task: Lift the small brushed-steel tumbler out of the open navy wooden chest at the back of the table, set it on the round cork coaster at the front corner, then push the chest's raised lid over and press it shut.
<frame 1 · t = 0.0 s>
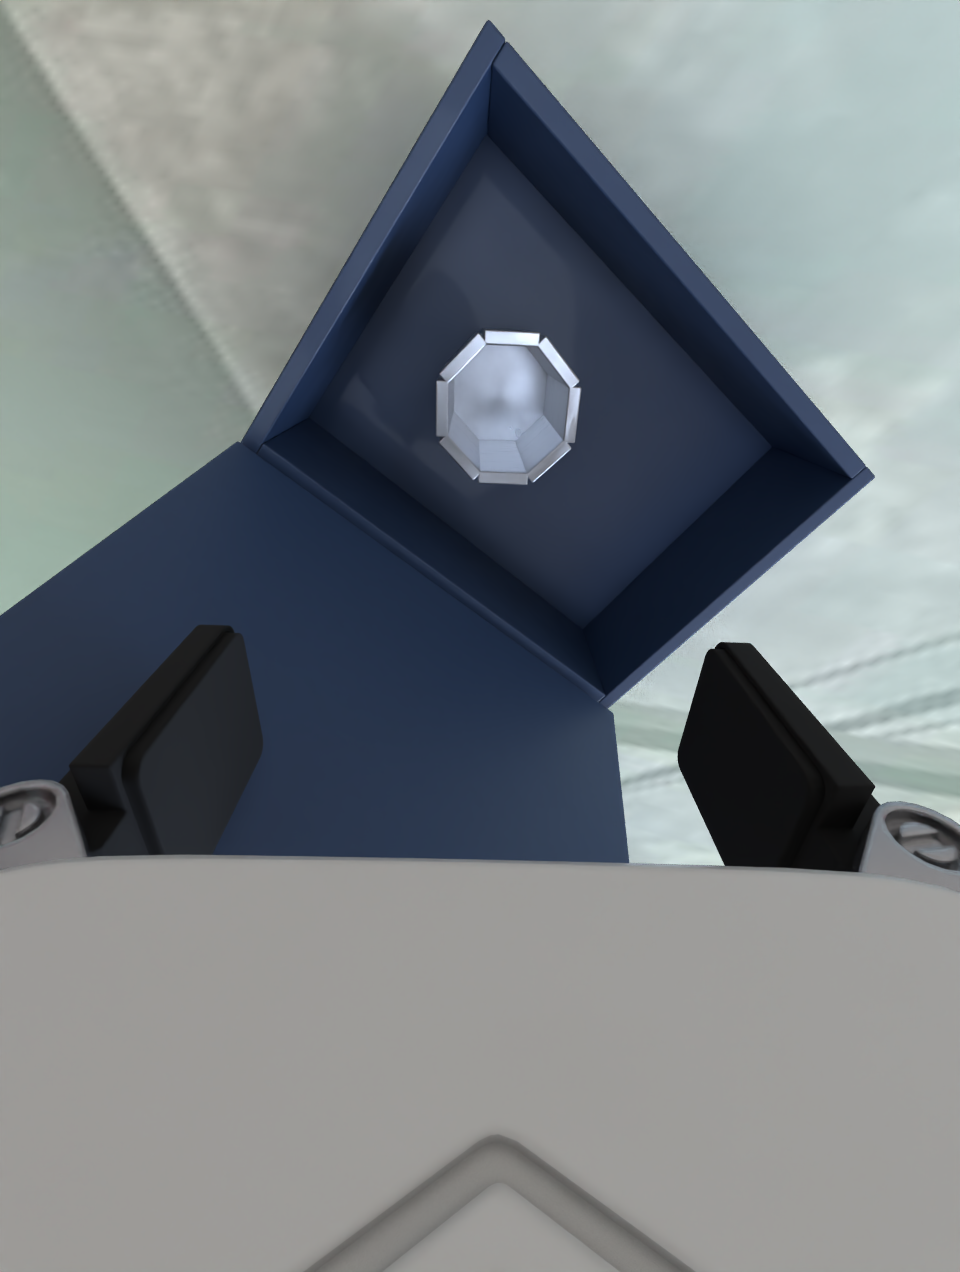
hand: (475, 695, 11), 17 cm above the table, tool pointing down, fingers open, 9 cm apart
lid: (374, 763, 17), point 13 cm above the table, hinge at 101.0°, touching gripper
tumbler: (499, 391, 23), point 1 cm above the table, touching chest
chest: (542, 429, 25), on the table
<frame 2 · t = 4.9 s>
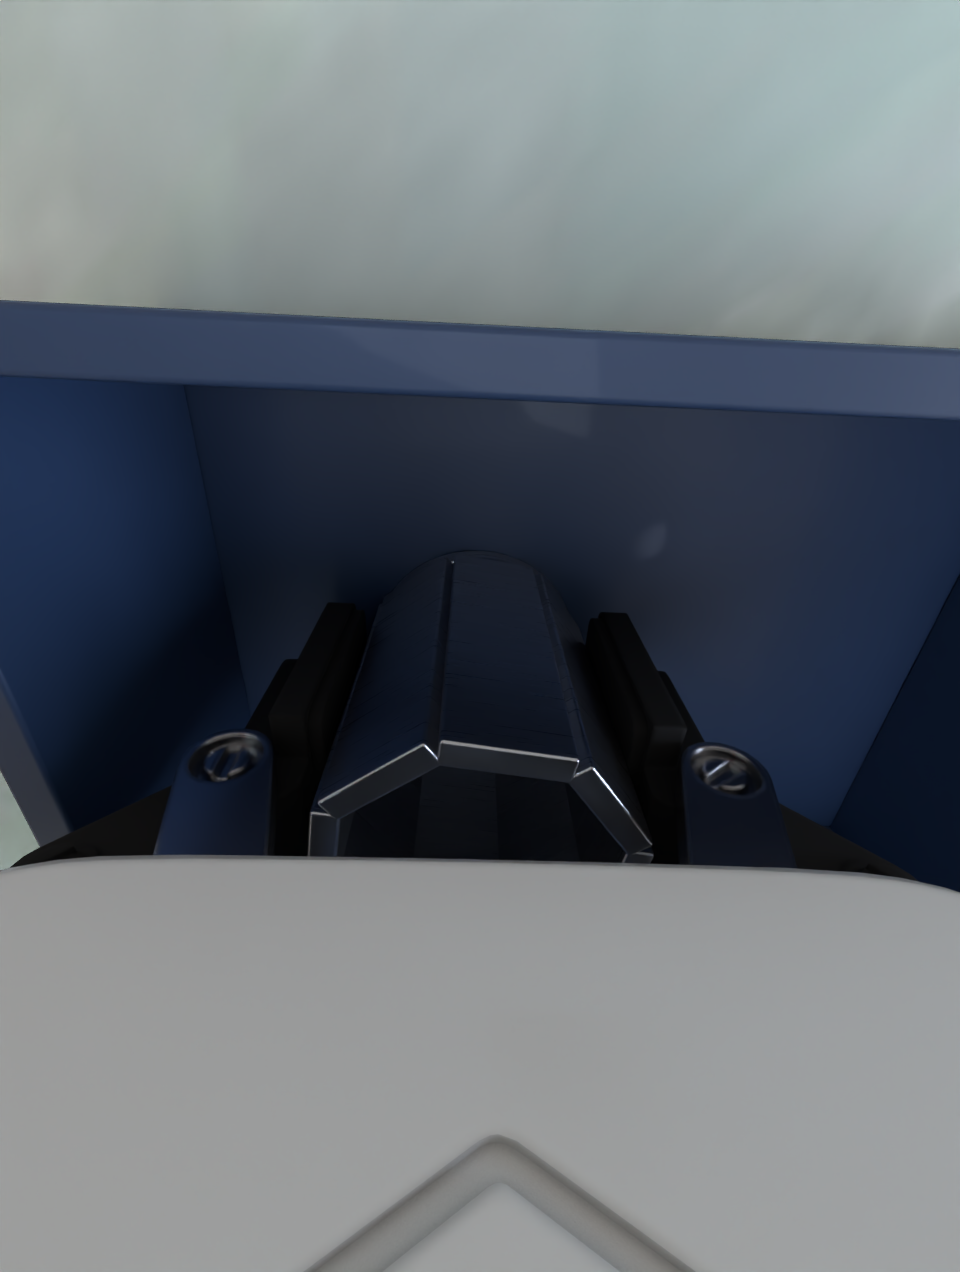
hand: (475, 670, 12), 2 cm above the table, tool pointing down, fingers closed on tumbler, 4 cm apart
tumbler: (475, 640, 13), point 1 cm above the table, touching chest, gripper
chest: (578, 631, 14), on the table
when the fingers open (2 cm above the table, at t = 14.4 s): tumbler stays where it is, resting on coaster.
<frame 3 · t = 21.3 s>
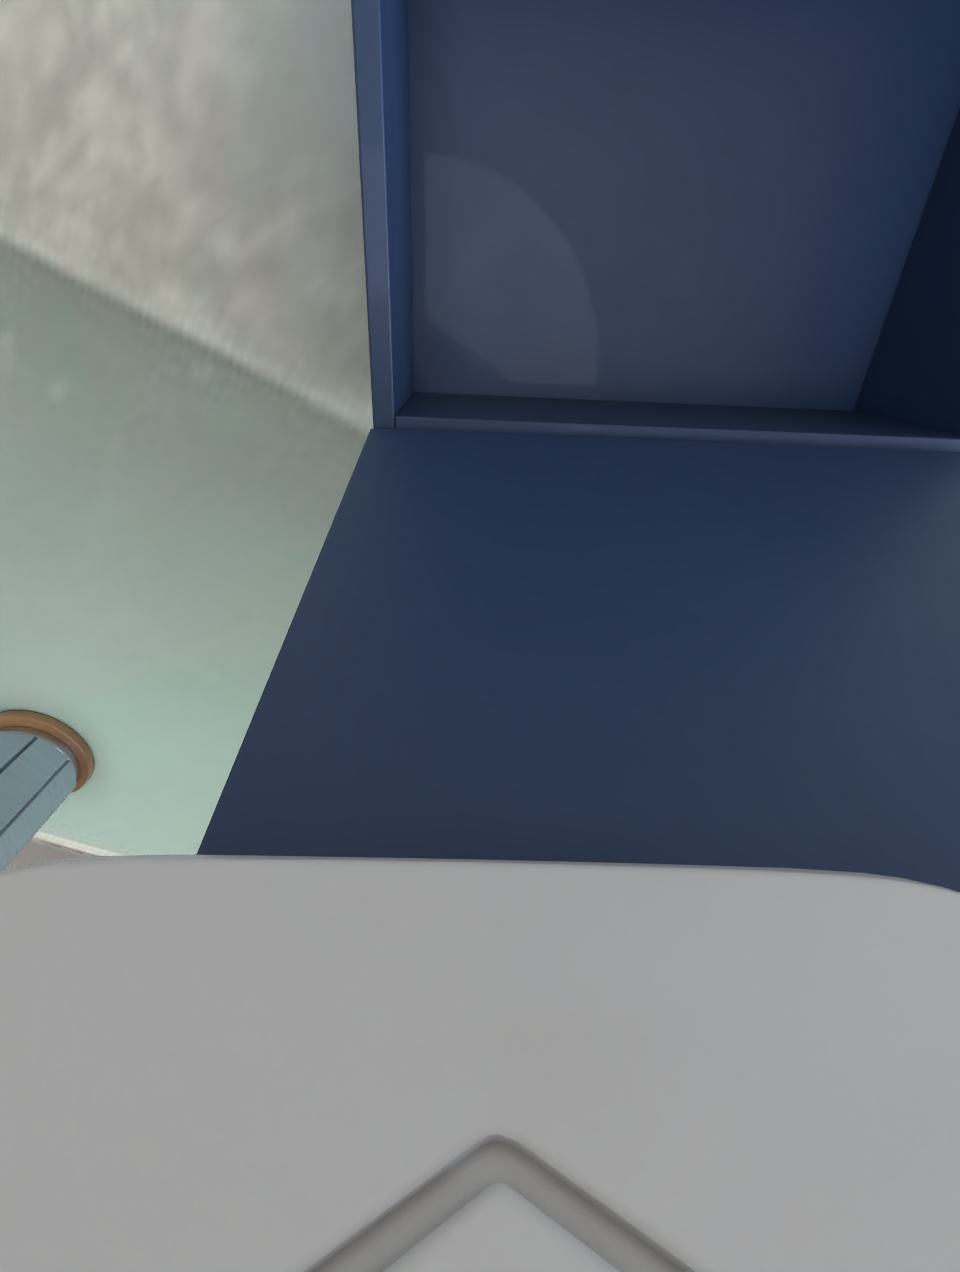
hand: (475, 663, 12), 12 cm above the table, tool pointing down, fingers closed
lid: (766, 670, 11), point 13 cm above the table, hinge at 100.7°, touching gripper
coaster: (38, 751, 29), on the table
tumbler: (34, 759, 29), resting on coaster
chest: (664, 203, 18), on the table
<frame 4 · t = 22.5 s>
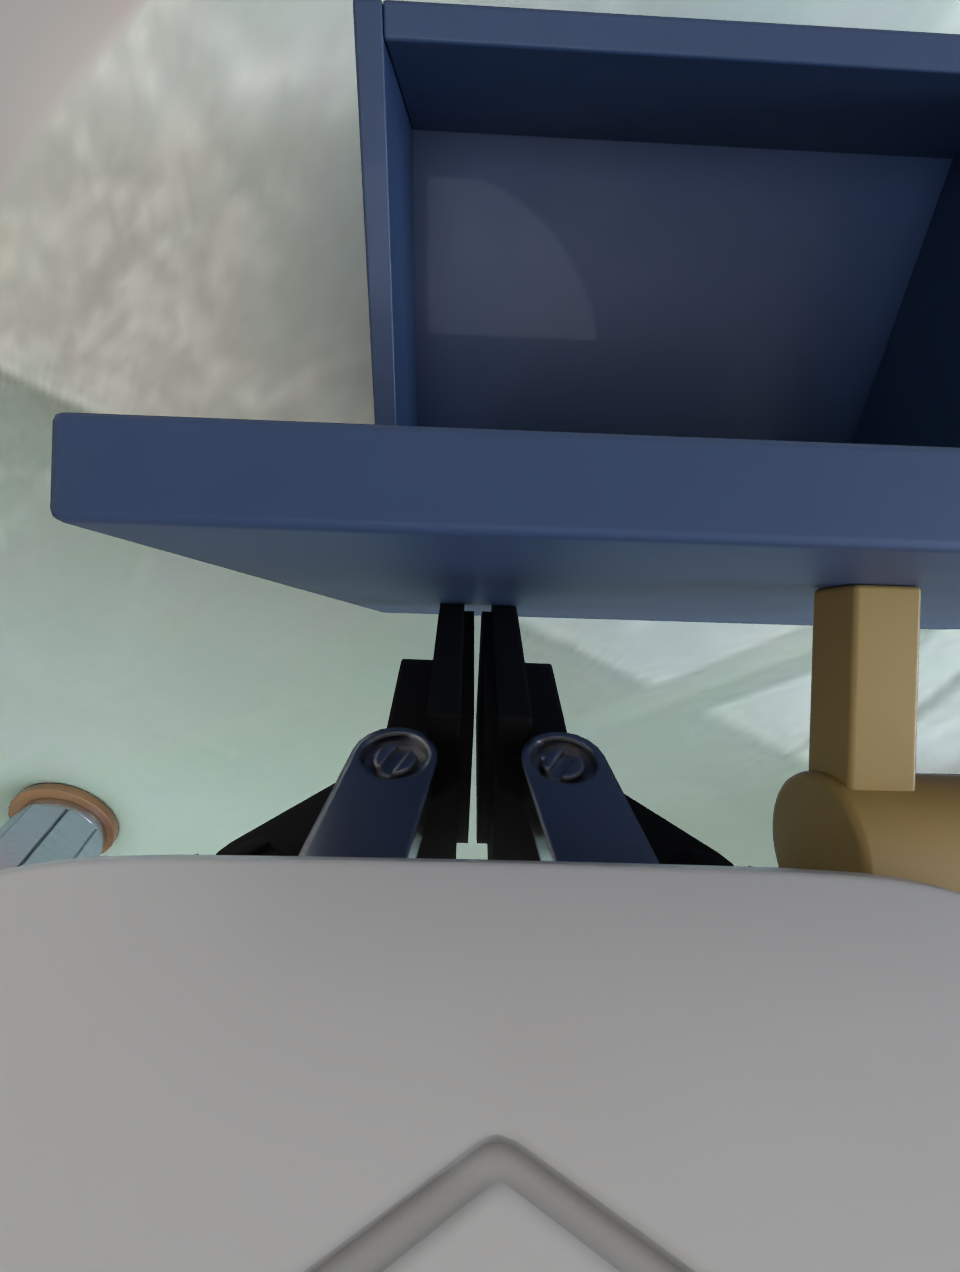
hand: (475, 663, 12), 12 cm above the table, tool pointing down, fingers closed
lid: (791, 687, 10), point 14 cm above the table, hinge at 60.4°, touching gripper
coaster: (67, 818, 32), on the table
tumbler: (63, 827, 31), resting on coaster
chest: (644, 363, 20), on the table
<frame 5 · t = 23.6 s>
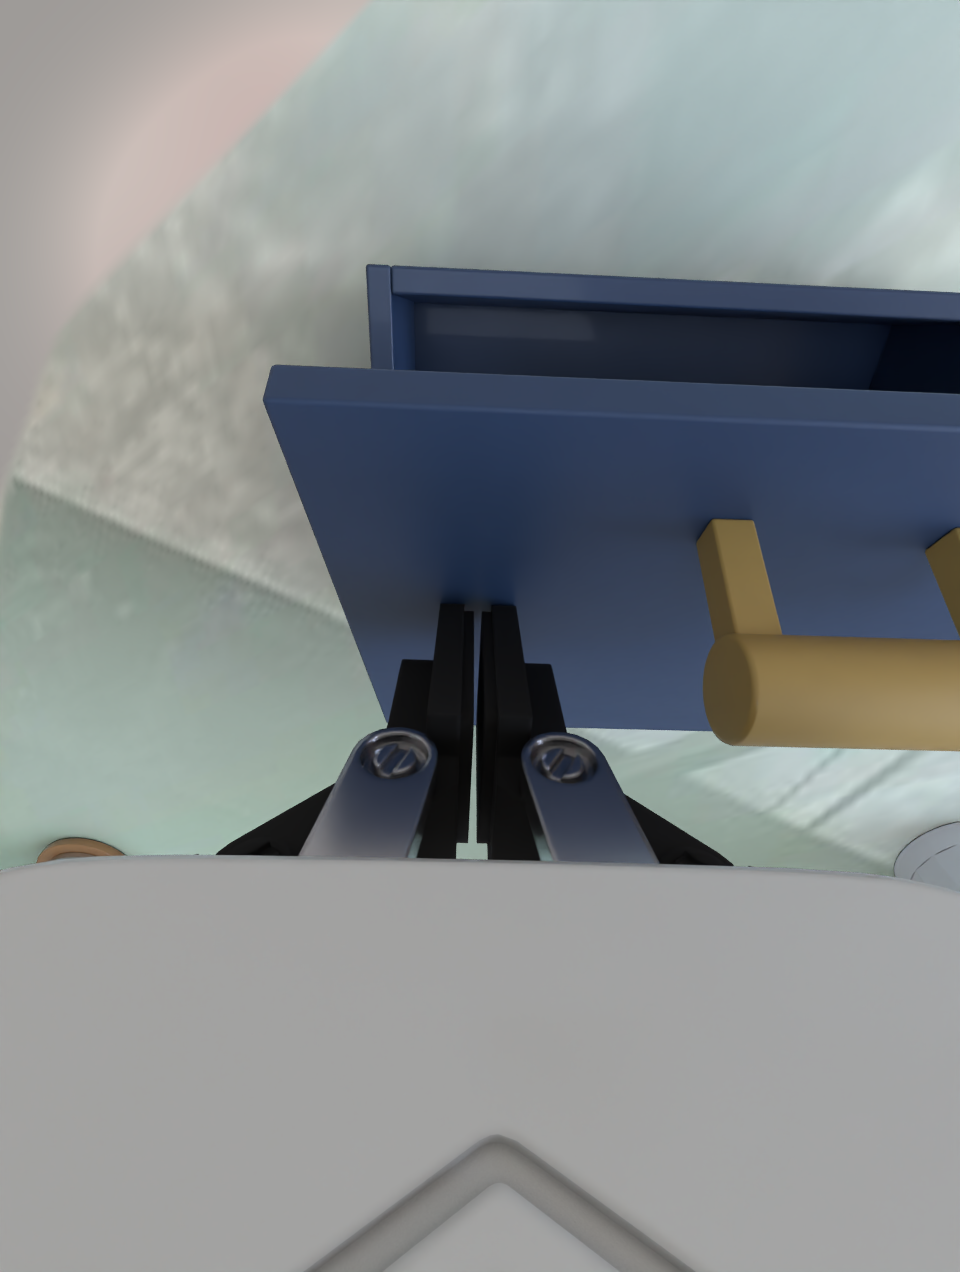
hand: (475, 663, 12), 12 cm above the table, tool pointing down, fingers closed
lid: (734, 706, 13), point 12 cm above the table, hinge at 34.3°
coaster: (90, 868, 34), on the table
cup: (945, 854, 34), on the table
chest: (622, 484, 22), on the table
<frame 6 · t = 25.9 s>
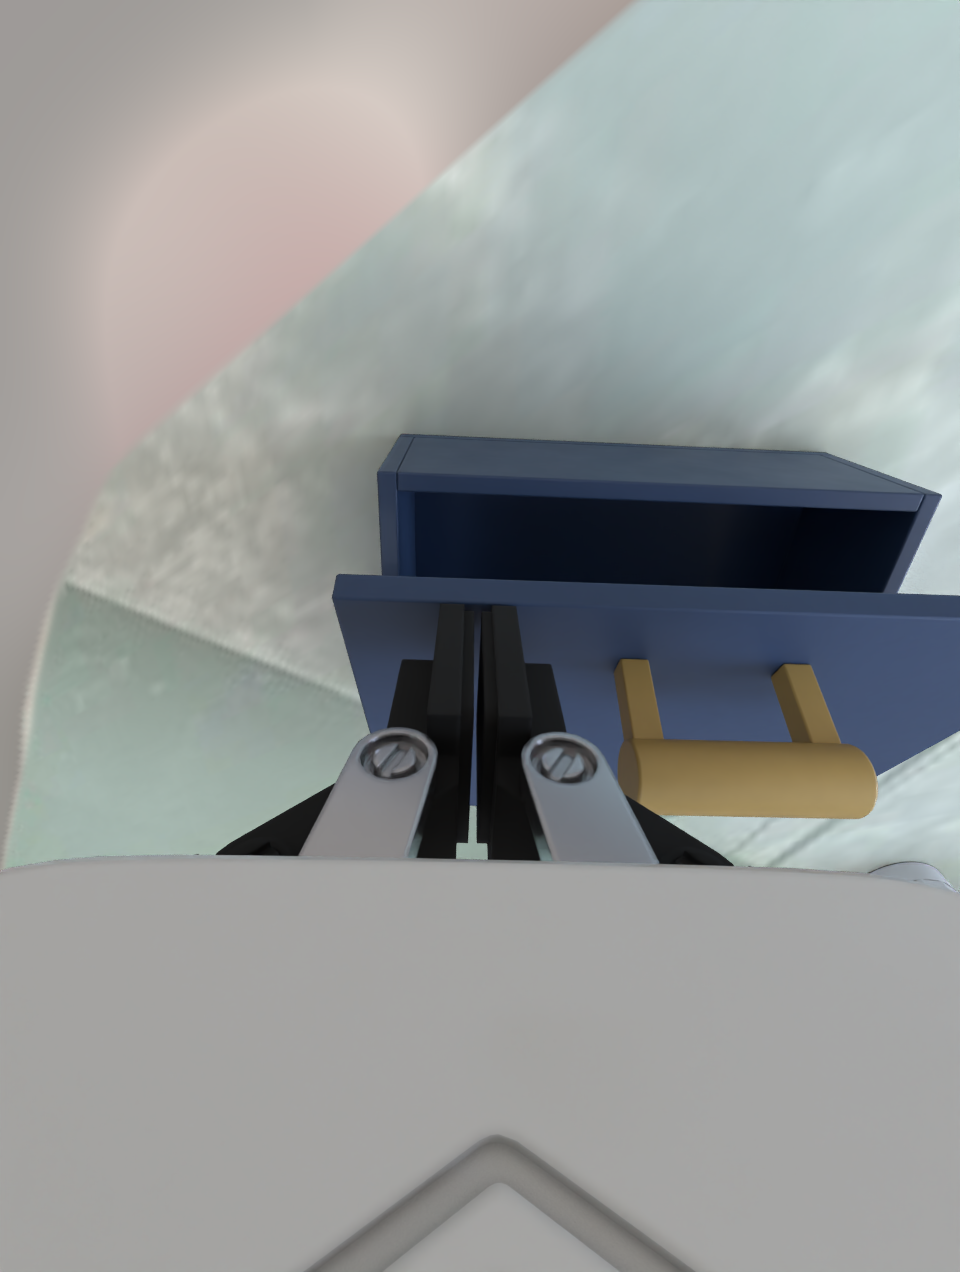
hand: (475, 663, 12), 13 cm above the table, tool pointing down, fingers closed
lid: (662, 787, 16), point 12 cm above the table, hinge at 26.0°, touching gripper
cup: (891, 890, 38), on the table
chest: (593, 588, 26), on the table
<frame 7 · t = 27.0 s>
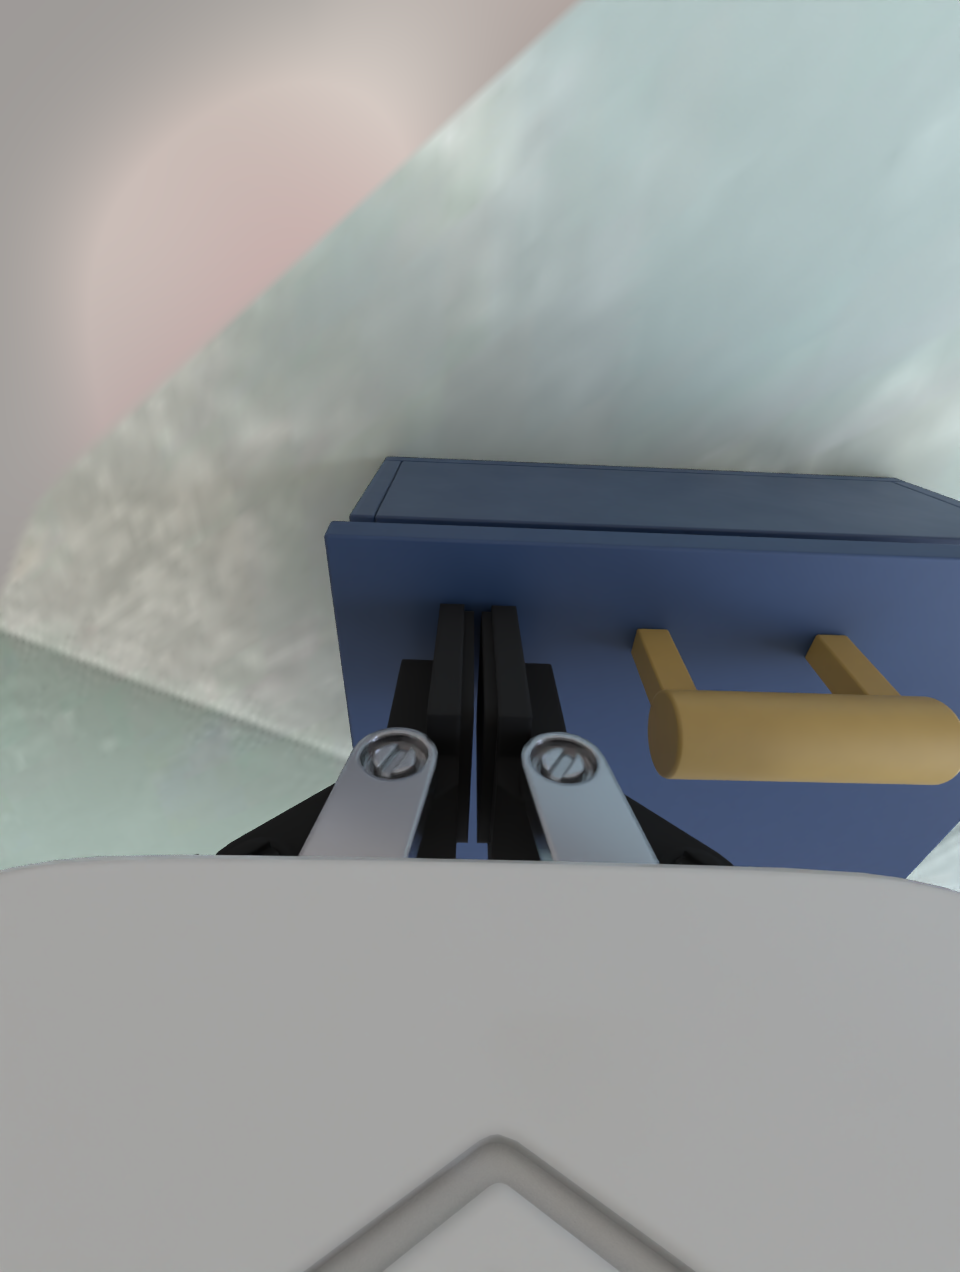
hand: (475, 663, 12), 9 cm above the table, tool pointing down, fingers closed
lid: (700, 821, 14), point 10 cm above the table, hinge at 7.0°, touching gripper
chest: (613, 633, 22), on the table
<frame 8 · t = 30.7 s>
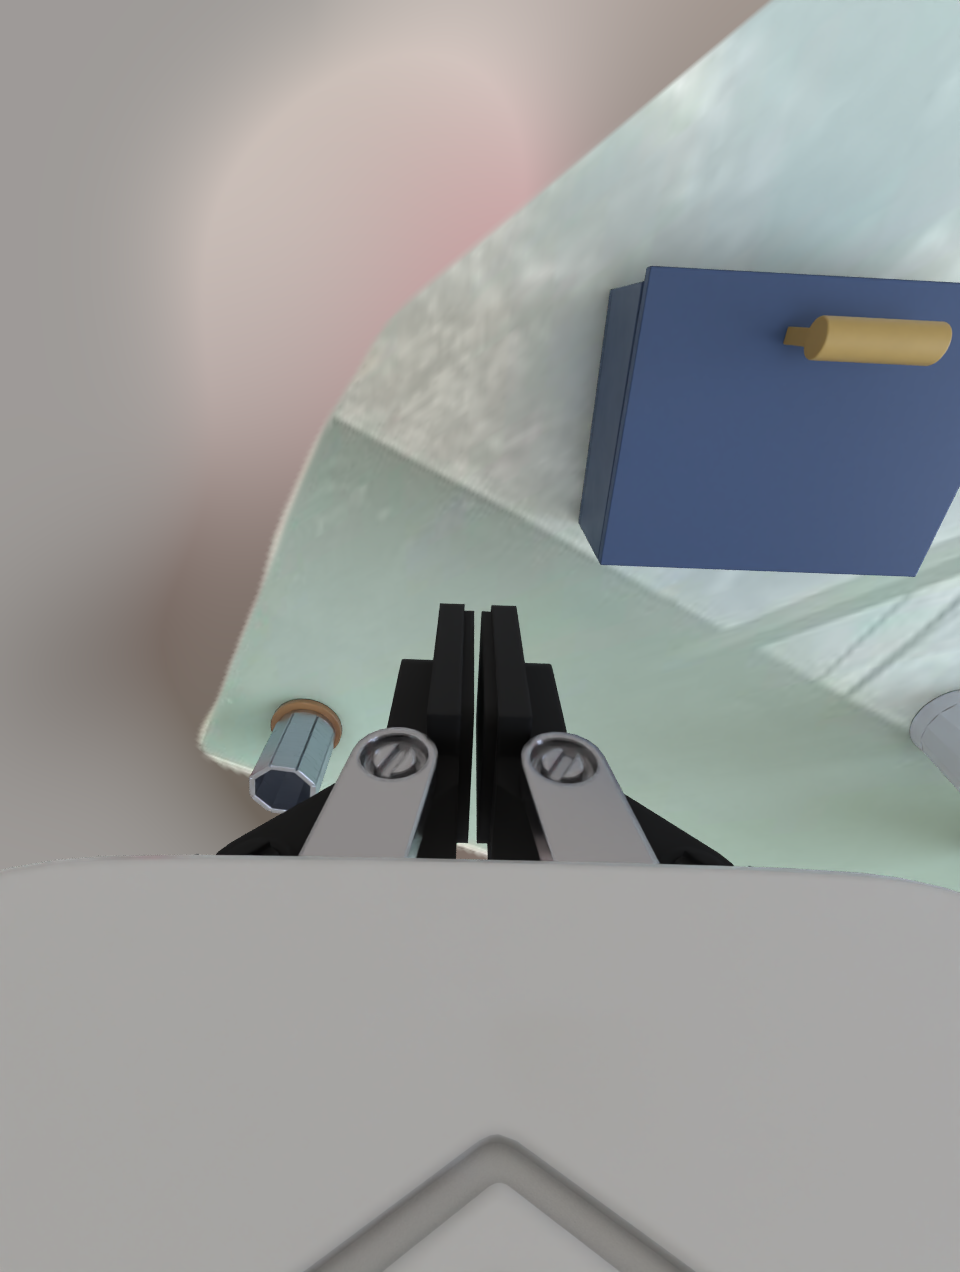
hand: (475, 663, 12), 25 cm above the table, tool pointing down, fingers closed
lid: (817, 449, 26), point 9 cm above the table, hinge at 1.2°
coaster: (307, 726, 45), on the table
tumbler: (306, 731, 44), resting on coaster
cup: (948, 719, 45), on the table
chest: (736, 424, 34), on the table
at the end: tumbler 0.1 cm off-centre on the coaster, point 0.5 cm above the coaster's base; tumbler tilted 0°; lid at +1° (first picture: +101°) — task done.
